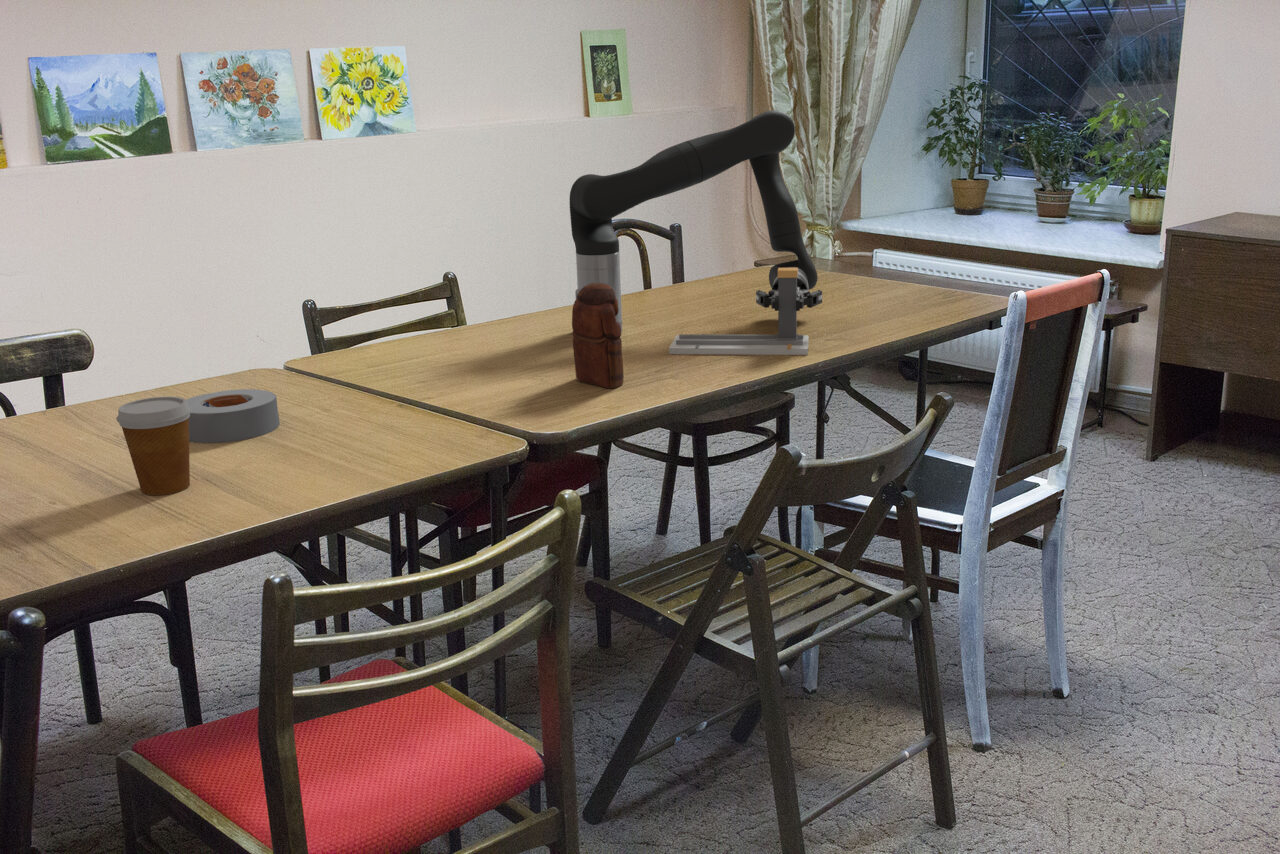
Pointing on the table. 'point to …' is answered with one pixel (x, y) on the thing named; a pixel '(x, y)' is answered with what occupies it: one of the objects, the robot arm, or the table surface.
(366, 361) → the table surface
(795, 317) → the fader
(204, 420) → the tape roll
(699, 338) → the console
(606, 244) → the robot arm
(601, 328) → the wooden figurine
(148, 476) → the disposable coffee cup
